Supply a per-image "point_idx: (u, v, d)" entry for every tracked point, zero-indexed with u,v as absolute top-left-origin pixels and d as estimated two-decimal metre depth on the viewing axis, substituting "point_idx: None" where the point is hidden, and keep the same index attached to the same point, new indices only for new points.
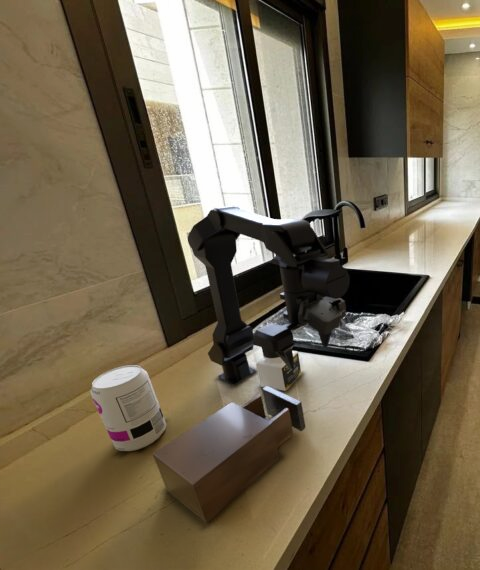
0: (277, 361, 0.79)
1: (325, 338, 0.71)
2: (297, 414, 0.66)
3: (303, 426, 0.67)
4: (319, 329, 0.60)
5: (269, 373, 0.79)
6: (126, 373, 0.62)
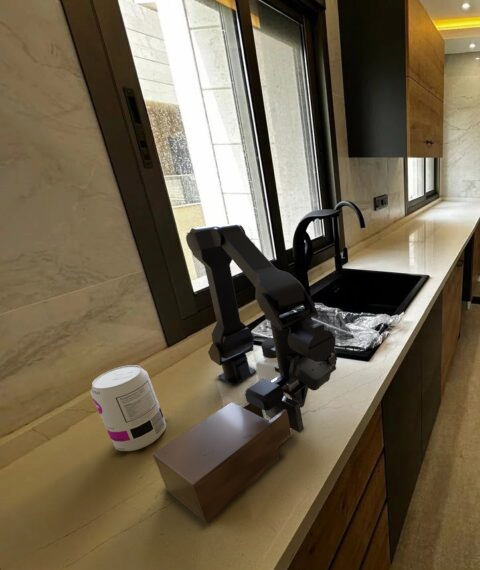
0: (277, 361, 0.79)
1: None
2: (295, 415, 0.65)
3: (301, 428, 0.67)
4: (309, 385, 0.61)
5: (269, 373, 0.79)
6: (126, 373, 0.62)
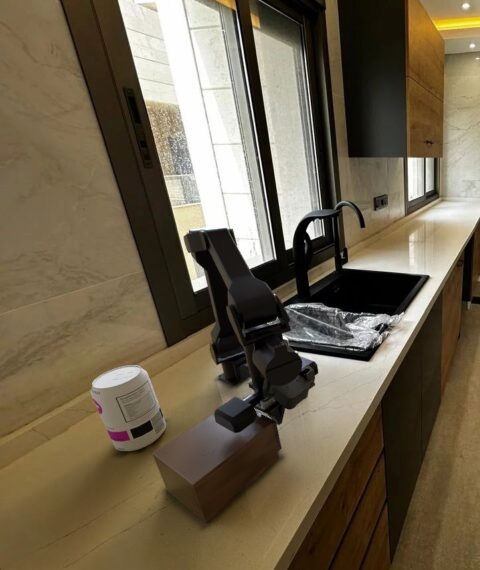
0: None
1: None
2: None
3: (279, 447, 0.62)
4: (284, 404, 0.56)
5: None
6: (126, 373, 0.62)
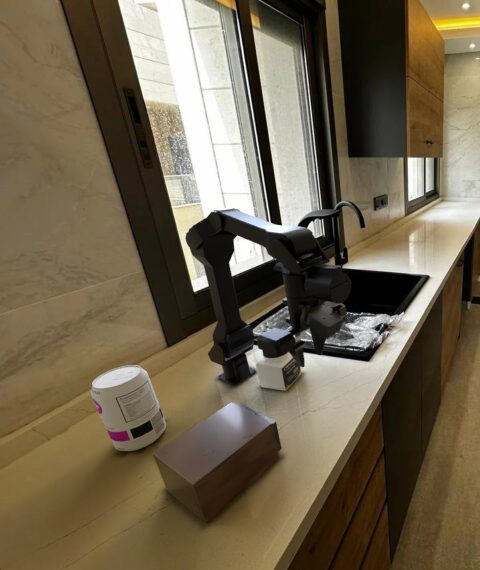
0: (277, 361, 0.79)
1: (319, 346, 0.71)
2: None
3: (279, 447, 0.62)
4: (321, 334, 0.61)
5: (269, 373, 0.79)
6: (126, 373, 0.62)
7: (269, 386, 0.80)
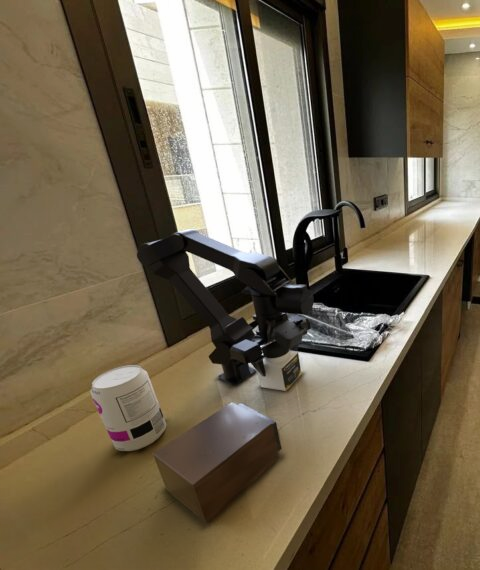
0: (277, 361, 0.79)
1: (293, 350, 0.85)
2: None
3: (279, 447, 0.62)
4: (283, 345, 0.74)
5: (270, 373, 0.79)
6: (126, 373, 0.62)
7: (269, 386, 0.80)
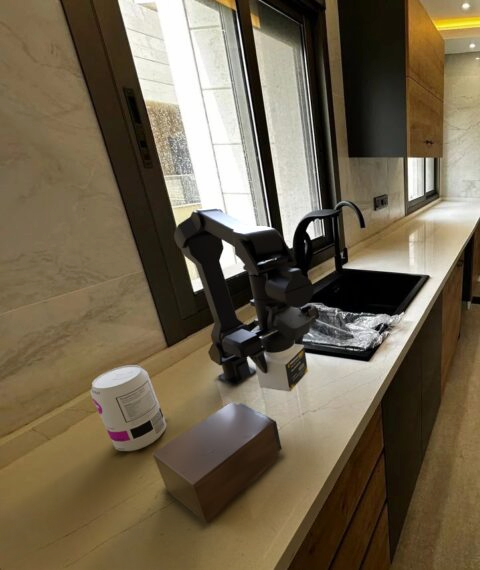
0: (280, 356, 0.66)
1: None
2: None
3: (279, 447, 0.62)
4: (288, 335, 0.61)
5: (271, 370, 0.66)
6: (126, 373, 0.62)
7: (270, 386, 0.67)
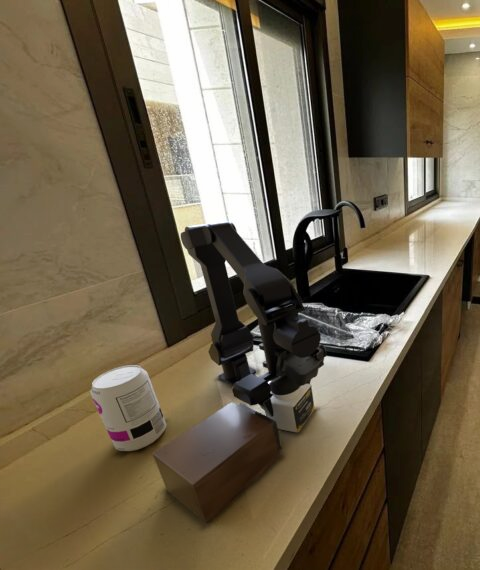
0: (287, 398, 0.67)
1: None
2: None
3: (279, 447, 0.62)
4: (296, 381, 0.61)
5: (279, 412, 0.67)
6: (126, 373, 0.62)
7: (278, 427, 0.68)
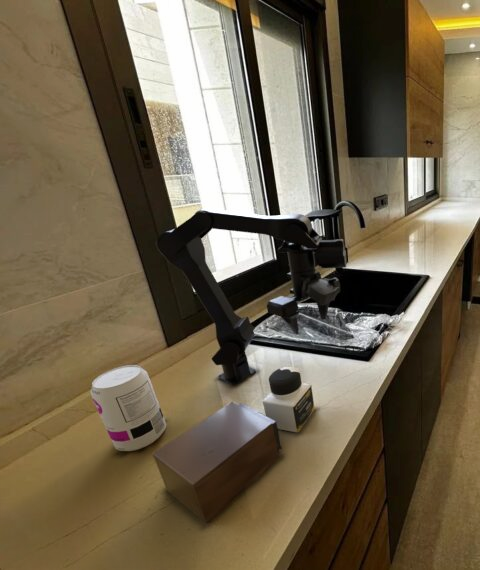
0: (287, 398, 0.67)
1: (323, 312, 0.86)
2: None
3: (279, 447, 0.62)
4: (318, 301, 0.75)
5: (279, 412, 0.67)
6: (126, 373, 0.62)
7: (278, 427, 0.68)
